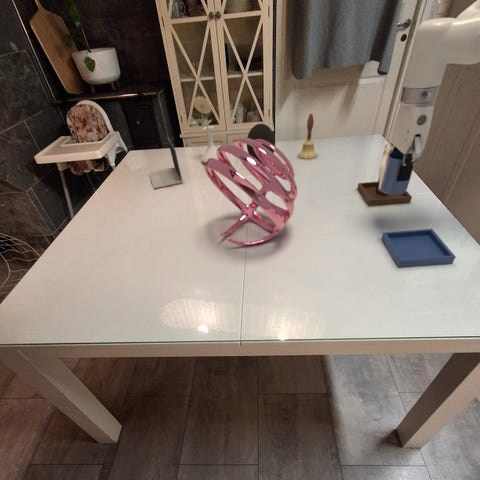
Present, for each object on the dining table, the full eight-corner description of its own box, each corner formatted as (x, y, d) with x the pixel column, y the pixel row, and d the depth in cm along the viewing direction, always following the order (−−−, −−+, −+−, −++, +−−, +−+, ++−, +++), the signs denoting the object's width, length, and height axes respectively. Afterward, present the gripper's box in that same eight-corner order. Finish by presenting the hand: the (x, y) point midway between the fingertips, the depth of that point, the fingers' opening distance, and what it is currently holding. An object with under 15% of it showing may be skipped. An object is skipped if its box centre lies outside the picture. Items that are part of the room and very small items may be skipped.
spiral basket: (194, 208, 68) (271, 105, 64) (169, 193, 90) (225, 117, 87) (269, 274, 84) (334, 195, 81) (233, 248, 107) (282, 185, 103)
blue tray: (429, 235, 86) (432, 228, 84) (452, 263, 77) (455, 256, 75) (381, 238, 87) (382, 232, 85) (398, 267, 77) (400, 260, 76)
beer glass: (371, 197, 102) (382, 149, 91) (373, 188, 107) (384, 142, 96) (393, 199, 100) (407, 150, 89) (394, 190, 104) (408, 142, 93)
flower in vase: (230, 159, 140) (223, 94, 122) (213, 167, 135) (203, 100, 117) (211, 154, 147) (201, 92, 129) (194, 162, 142) (182, 98, 123)
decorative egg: (269, 169, 128) (268, 129, 117) (243, 166, 133) (240, 128, 122) (279, 158, 136) (279, 120, 125) (254, 156, 140) (252, 119, 129)
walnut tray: (395, 185, 108) (397, 179, 107) (410, 203, 99) (412, 196, 97) (357, 188, 109) (358, 183, 107) (368, 206, 100) (369, 200, 98)
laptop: (149, 174, 136) (139, 143, 127) (175, 168, 138) (168, 137, 129) (154, 189, 124) (143, 156, 115) (183, 183, 126) (175, 149, 117)
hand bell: (318, 152, 136) (322, 111, 124) (314, 159, 131) (318, 117, 119) (300, 151, 139) (302, 111, 127) (296, 158, 134) (298, 117, 122)
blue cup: (401, 183, 86) (410, 149, 80) (410, 193, 82) (421, 158, 75) (377, 185, 87) (384, 152, 80) (384, 196, 82) (393, 161, 76)
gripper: (454, 101, 62) (425, 187, 75) (420, 85, 74) (399, 161, 87) (417, 106, 63) (394, 190, 76) (389, 89, 74) (373, 164, 87)
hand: (397, 174), depth 81 cm, fingers closed on blue cup, 6 cm apart
